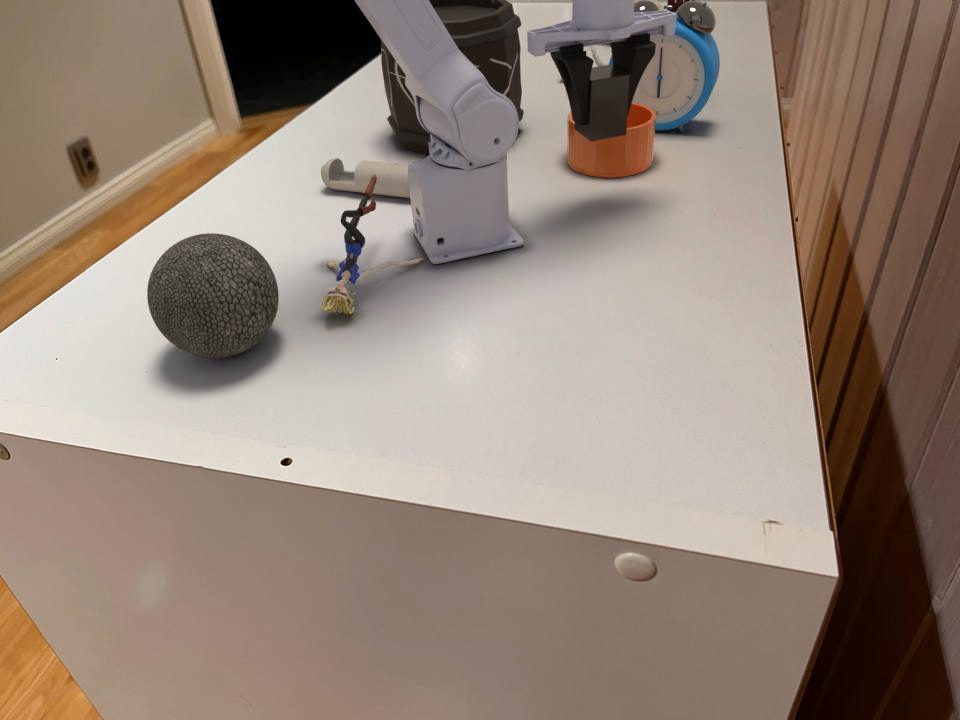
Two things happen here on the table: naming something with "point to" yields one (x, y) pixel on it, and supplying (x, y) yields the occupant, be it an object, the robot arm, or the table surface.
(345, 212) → the figurine
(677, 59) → the alarm clock
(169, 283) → the decorative ball
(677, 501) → the table surface
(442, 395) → the table surface
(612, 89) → the block
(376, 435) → the table surface
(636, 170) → the cup
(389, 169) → the white notched cylinder
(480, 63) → the wooden barrel
